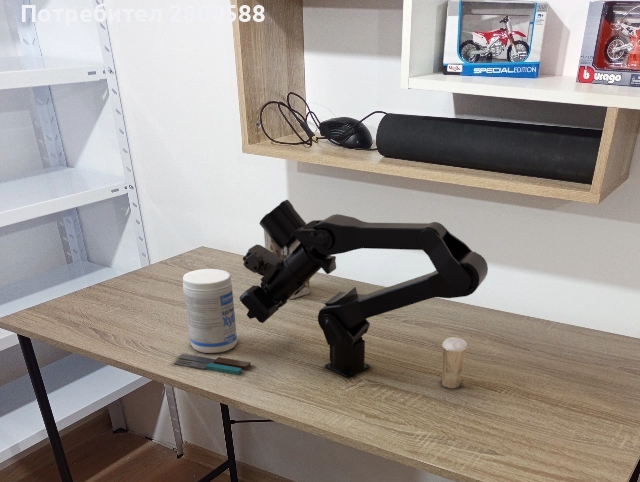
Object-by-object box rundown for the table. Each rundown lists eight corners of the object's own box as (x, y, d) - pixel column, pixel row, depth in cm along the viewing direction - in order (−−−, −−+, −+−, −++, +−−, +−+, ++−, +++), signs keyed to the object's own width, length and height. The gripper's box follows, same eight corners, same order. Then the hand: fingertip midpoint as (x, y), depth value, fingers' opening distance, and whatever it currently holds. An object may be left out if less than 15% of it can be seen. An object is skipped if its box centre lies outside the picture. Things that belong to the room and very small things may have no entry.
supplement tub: (237, 354, 139) (230, 283, 131) (189, 356, 138) (179, 284, 129) (237, 334, 147) (231, 267, 138) (192, 336, 146) (183, 268, 137)
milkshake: (460, 393, 126) (466, 343, 120) (434, 386, 128) (438, 336, 123) (470, 384, 129) (476, 334, 124) (445, 376, 132) (449, 328, 126)
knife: (250, 366, 134) (250, 362, 134) (246, 370, 133) (245, 366, 132) (183, 354, 138) (182, 350, 137) (178, 359, 136) (177, 354, 136)
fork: (242, 371, 132) (242, 367, 132) (238, 375, 131) (237, 371, 130) (179, 360, 136) (178, 356, 135) (173, 364, 134) (173, 360, 134)
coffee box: (310, 293, 168) (309, 226, 159) (291, 299, 164) (288, 231, 155) (286, 284, 173) (283, 218, 164) (266, 290, 169) (262, 223, 160)
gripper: (288, 221, 132) (242, 270, 141) (245, 247, 118) (196, 301, 127) (327, 265, 135) (278, 311, 144) (289, 297, 120) (238, 346, 129)
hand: (248, 316), depth 136 cm, fingers closed
